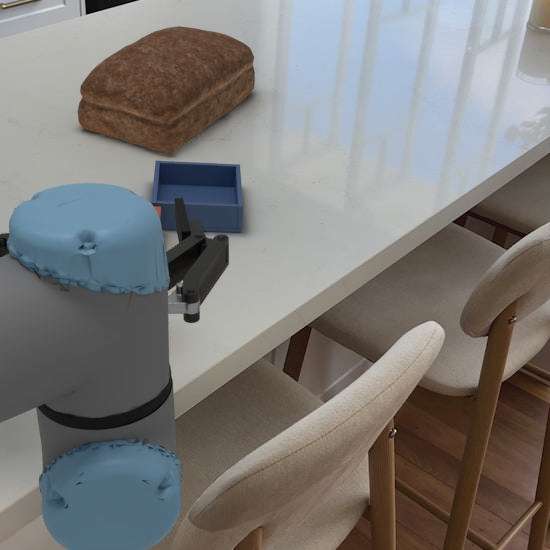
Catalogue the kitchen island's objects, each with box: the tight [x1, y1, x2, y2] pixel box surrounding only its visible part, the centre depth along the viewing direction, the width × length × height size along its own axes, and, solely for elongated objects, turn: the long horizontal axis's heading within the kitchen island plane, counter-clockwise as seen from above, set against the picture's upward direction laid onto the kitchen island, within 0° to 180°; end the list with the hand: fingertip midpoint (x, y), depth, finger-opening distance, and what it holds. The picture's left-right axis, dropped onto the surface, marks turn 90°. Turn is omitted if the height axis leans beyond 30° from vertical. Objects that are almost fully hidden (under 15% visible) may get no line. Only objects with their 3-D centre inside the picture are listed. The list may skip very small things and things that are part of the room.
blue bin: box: [150, 160, 244, 233], centre depth 114 cm, size 11×11×4 cm
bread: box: [77, 25, 256, 154], centre depth 136 cm, size 17×29×11 cm, turn 155°
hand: (101, 216), depth 77 cm, fingers open, 13 cm apart
